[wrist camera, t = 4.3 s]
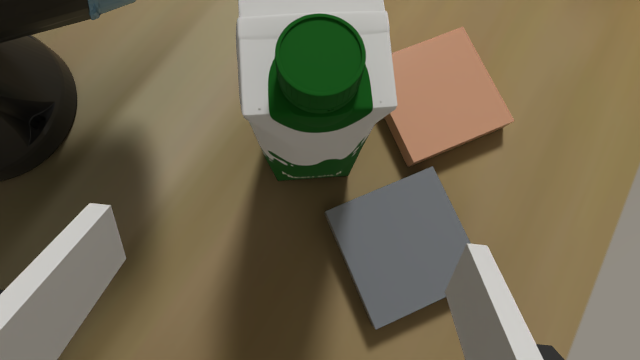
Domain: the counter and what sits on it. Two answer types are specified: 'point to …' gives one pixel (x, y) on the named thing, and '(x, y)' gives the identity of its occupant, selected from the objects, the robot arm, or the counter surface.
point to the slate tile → (399, 245)
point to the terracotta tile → (442, 97)
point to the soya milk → (314, 80)
